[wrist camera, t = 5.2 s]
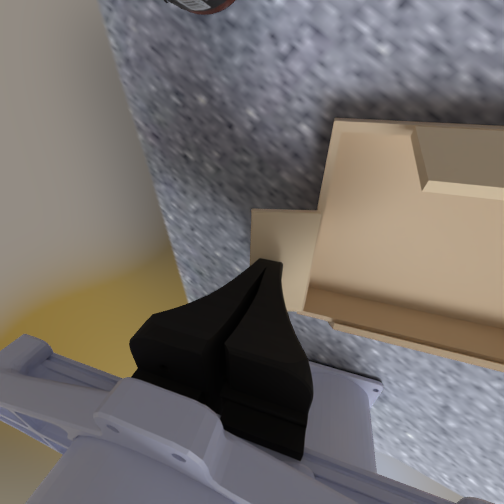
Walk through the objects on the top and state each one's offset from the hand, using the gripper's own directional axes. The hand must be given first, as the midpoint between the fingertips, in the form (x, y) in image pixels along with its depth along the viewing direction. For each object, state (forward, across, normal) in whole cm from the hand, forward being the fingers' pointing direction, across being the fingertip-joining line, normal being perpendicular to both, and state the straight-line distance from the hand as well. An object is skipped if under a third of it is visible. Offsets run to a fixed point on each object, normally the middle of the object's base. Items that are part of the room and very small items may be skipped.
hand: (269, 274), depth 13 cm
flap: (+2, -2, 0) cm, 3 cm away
